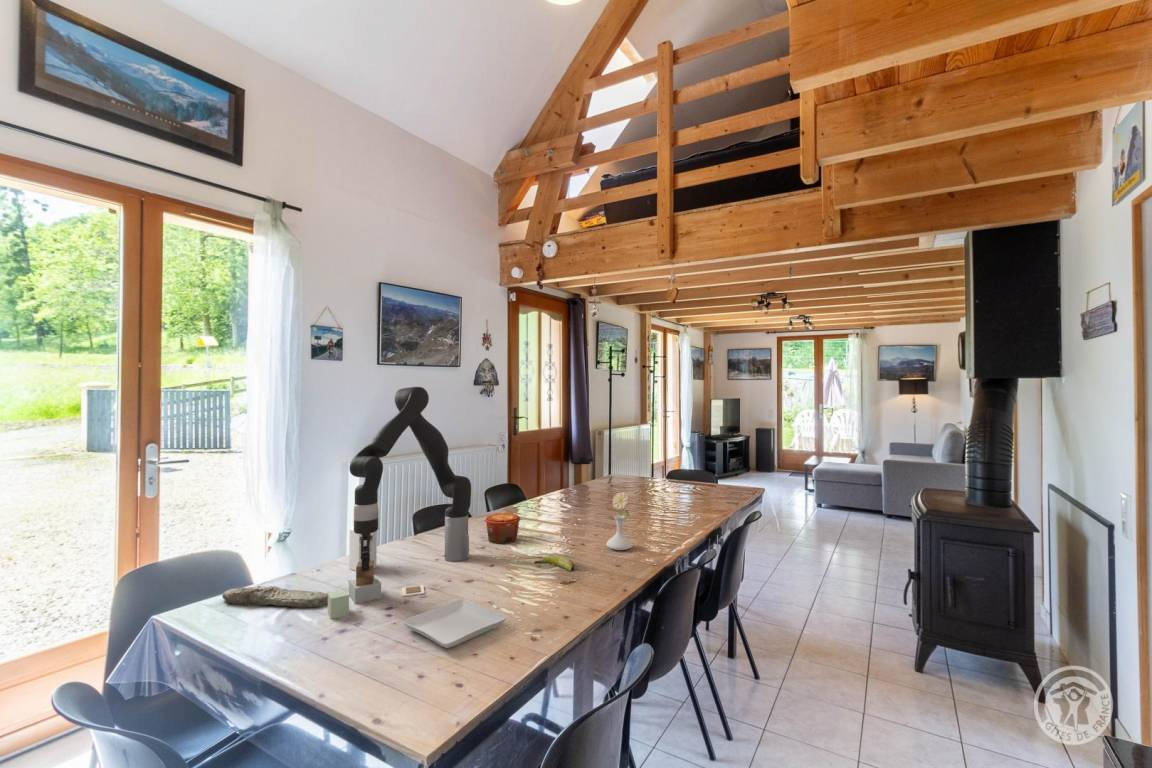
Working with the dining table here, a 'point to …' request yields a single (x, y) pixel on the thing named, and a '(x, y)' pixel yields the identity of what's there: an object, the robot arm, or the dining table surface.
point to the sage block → (338, 604)
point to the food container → (502, 527)
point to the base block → (364, 591)
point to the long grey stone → (275, 597)
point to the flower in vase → (620, 524)
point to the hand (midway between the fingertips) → (365, 566)
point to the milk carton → (355, 549)
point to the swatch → (413, 591)
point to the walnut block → (364, 574)
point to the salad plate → (455, 622)
